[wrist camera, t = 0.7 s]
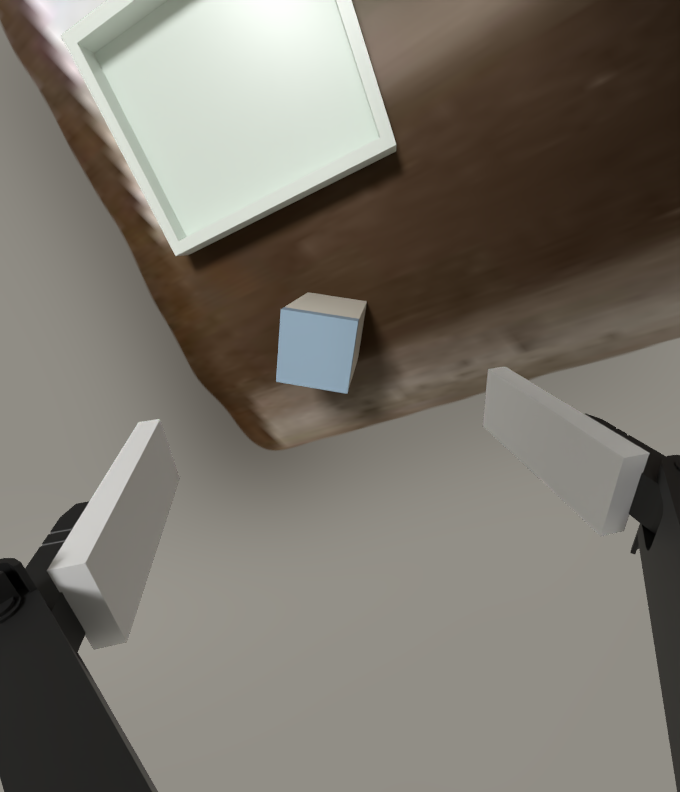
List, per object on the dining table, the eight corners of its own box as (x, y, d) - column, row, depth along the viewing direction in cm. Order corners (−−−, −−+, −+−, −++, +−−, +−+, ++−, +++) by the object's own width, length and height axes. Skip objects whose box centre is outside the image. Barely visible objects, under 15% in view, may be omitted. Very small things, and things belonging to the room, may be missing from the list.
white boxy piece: (308, 292, 38) (280, 309, 29) (366, 301, 38) (358, 321, 29) (302, 349, 40) (276, 381, 31) (358, 358, 40) (347, 393, 31)
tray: (83, 49, 33) (60, 35, 30) (311, -119, 27) (304, -152, 25) (188, 255, 38) (175, 255, 36) (396, 151, 33) (396, 144, 30)
